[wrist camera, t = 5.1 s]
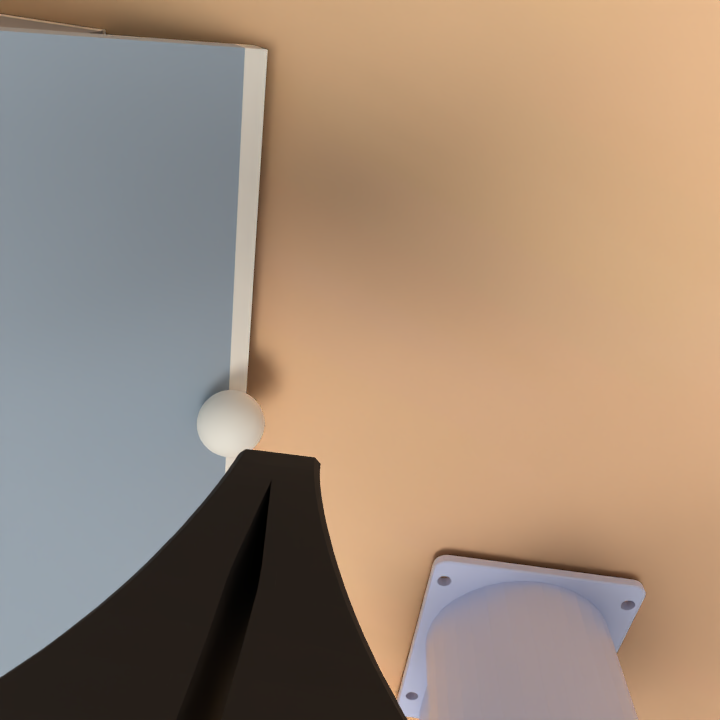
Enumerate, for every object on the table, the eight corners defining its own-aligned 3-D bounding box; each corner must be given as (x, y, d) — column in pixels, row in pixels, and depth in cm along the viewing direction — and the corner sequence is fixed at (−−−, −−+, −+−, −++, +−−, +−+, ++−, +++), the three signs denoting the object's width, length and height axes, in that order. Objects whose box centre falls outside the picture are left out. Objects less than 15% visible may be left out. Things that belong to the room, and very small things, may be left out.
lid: (225, 603, 27) (256, 653, 25) (-221, 795, 19) (-221, 887, 17) (255, 45, 17) (310, 64, 15) (-660, -22, 9) (-764, 1, 7)
